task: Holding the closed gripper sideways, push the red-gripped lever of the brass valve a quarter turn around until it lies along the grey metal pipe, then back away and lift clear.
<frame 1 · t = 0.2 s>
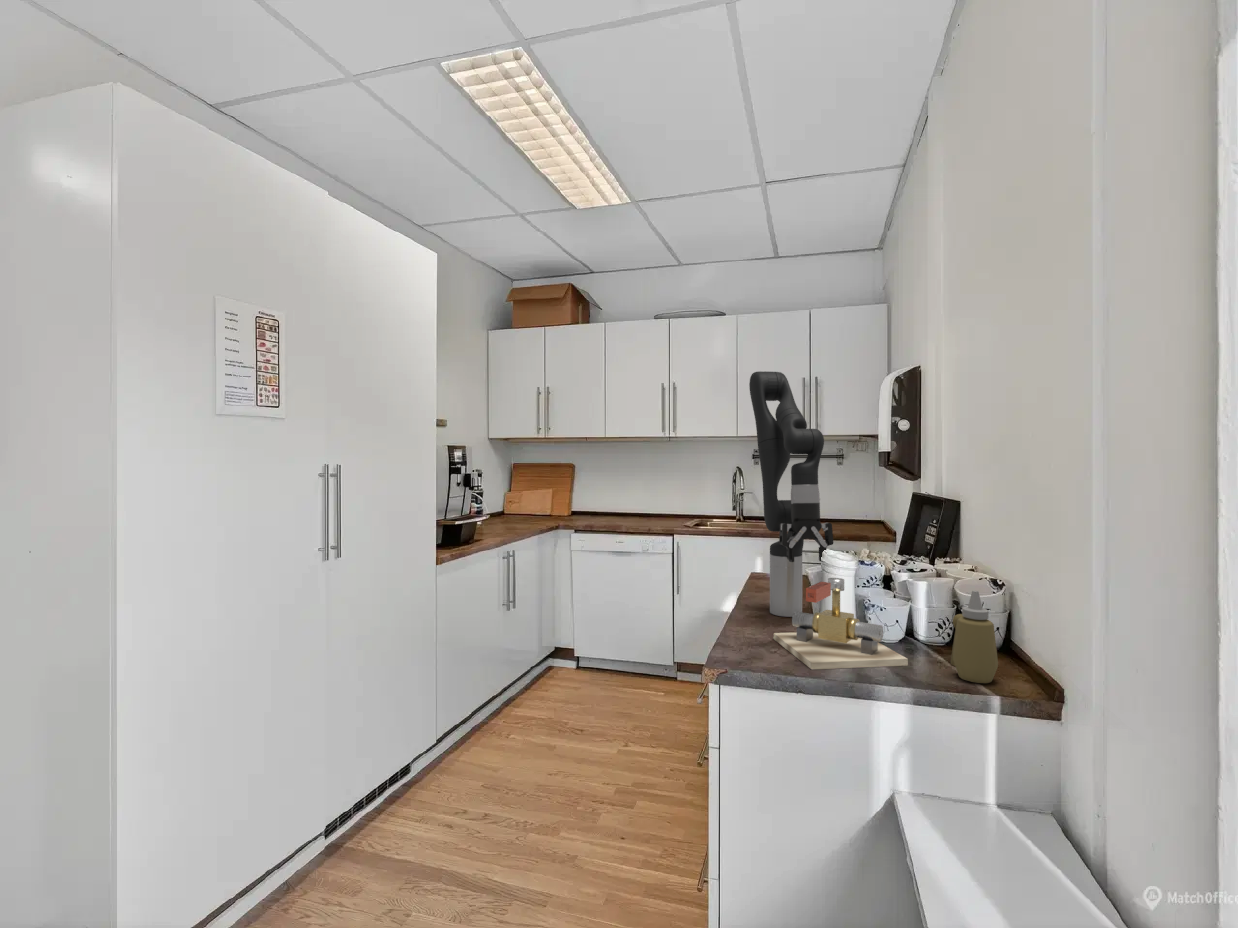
hand: (806, 561, 161), 18 cm above the counter, tool pointing down, fingers open, 8 cm apart
squeeze bottle: (974, 679, 122), on the counter
lever: (825, 588, 134), point 16 cm above the counter, hinge at 0.0°
base board: (836, 651, 140), on the counter
valve and pipe: (836, 617, 140), on the base board, point 8 cm above the counter
cork: (966, 665, 131), on the counter
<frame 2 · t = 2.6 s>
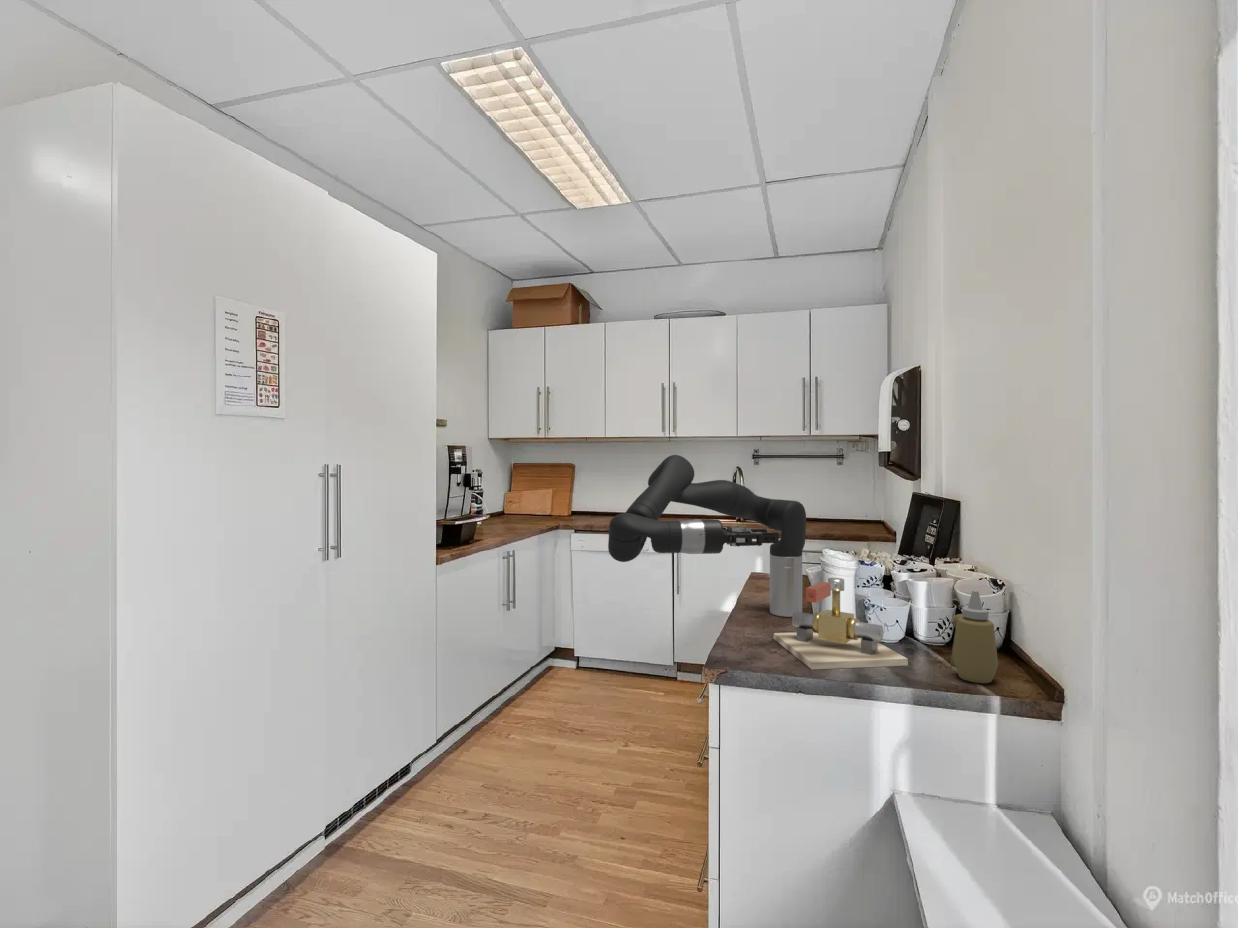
hand: (771, 535, 133), 28 cm above the counter, tool horizontal, fingers open, 6 cm apart
nothing on the counter moved.
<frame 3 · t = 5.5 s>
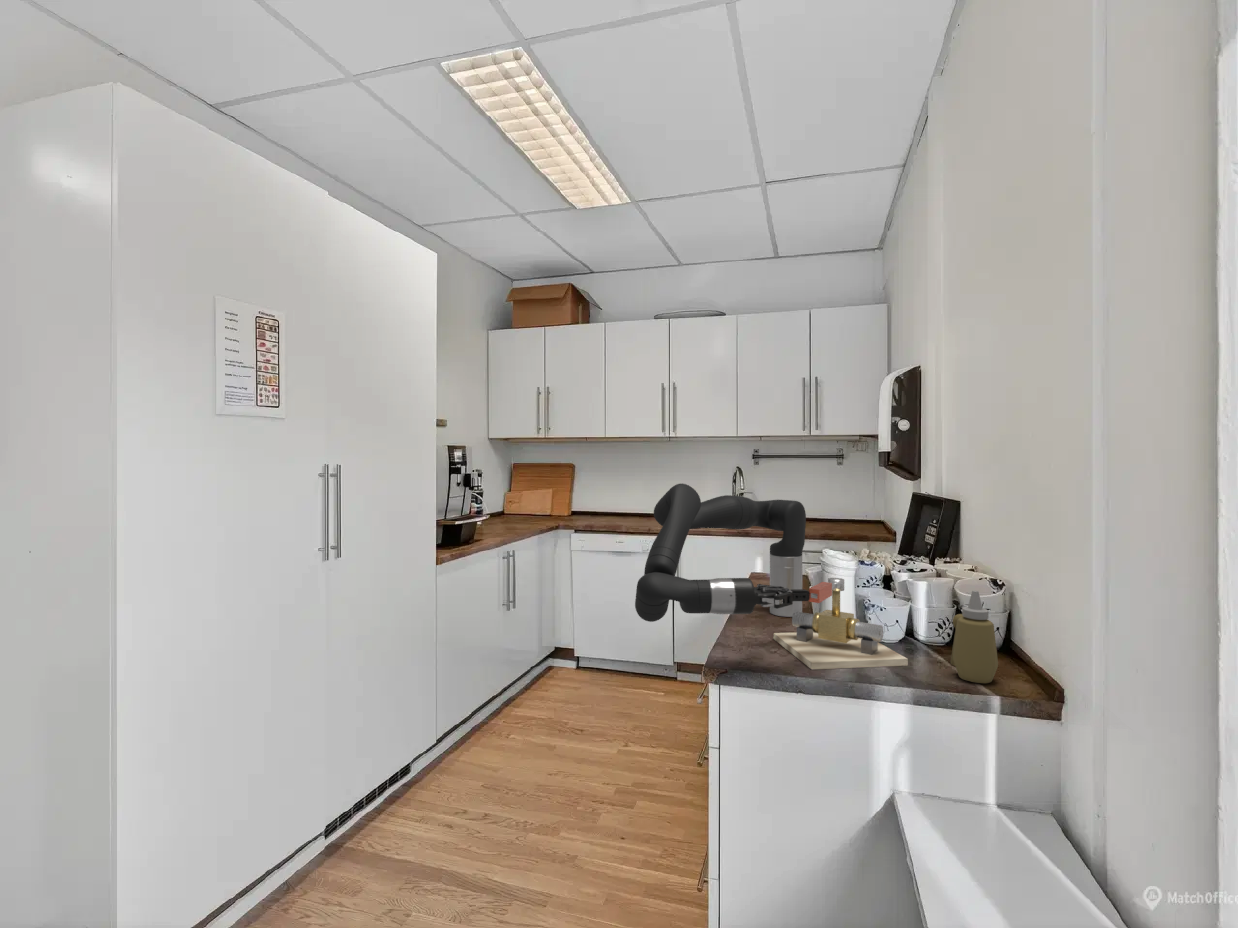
hand: (807, 595, 128), 16 cm above the counter, tool horizontal, fingers closed
lever: (826, 588, 134), point 16 cm above the counter, hinge at 2.3°, touching gripper
everything else where it was.
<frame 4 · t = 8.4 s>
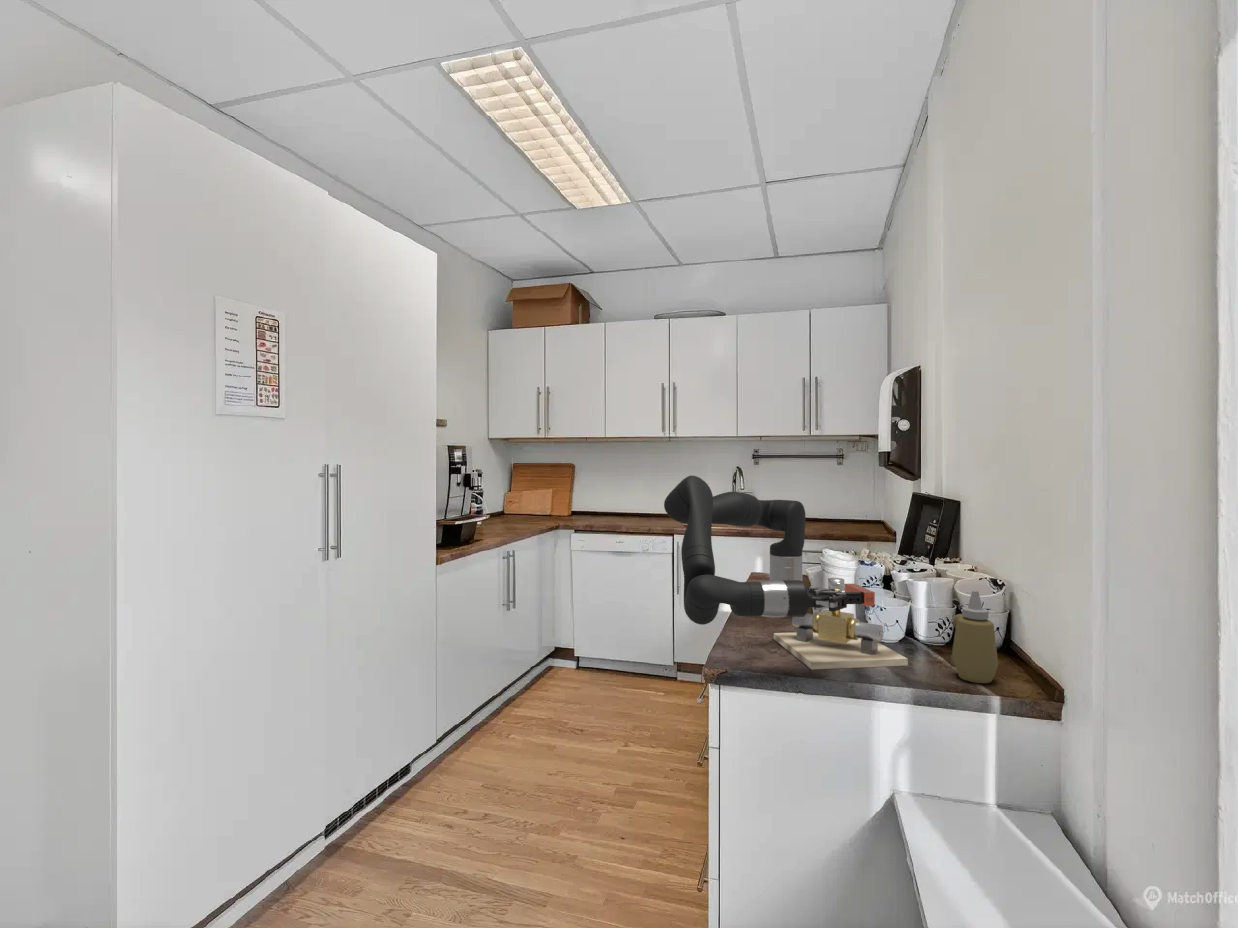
hand: (861, 597, 125), 16 cm above the counter, tool horizontal, fingers closed
lever: (850, 589, 133), point 16 cm above the counter, hinge at 42.5°, touching gripper
everything else where it was.
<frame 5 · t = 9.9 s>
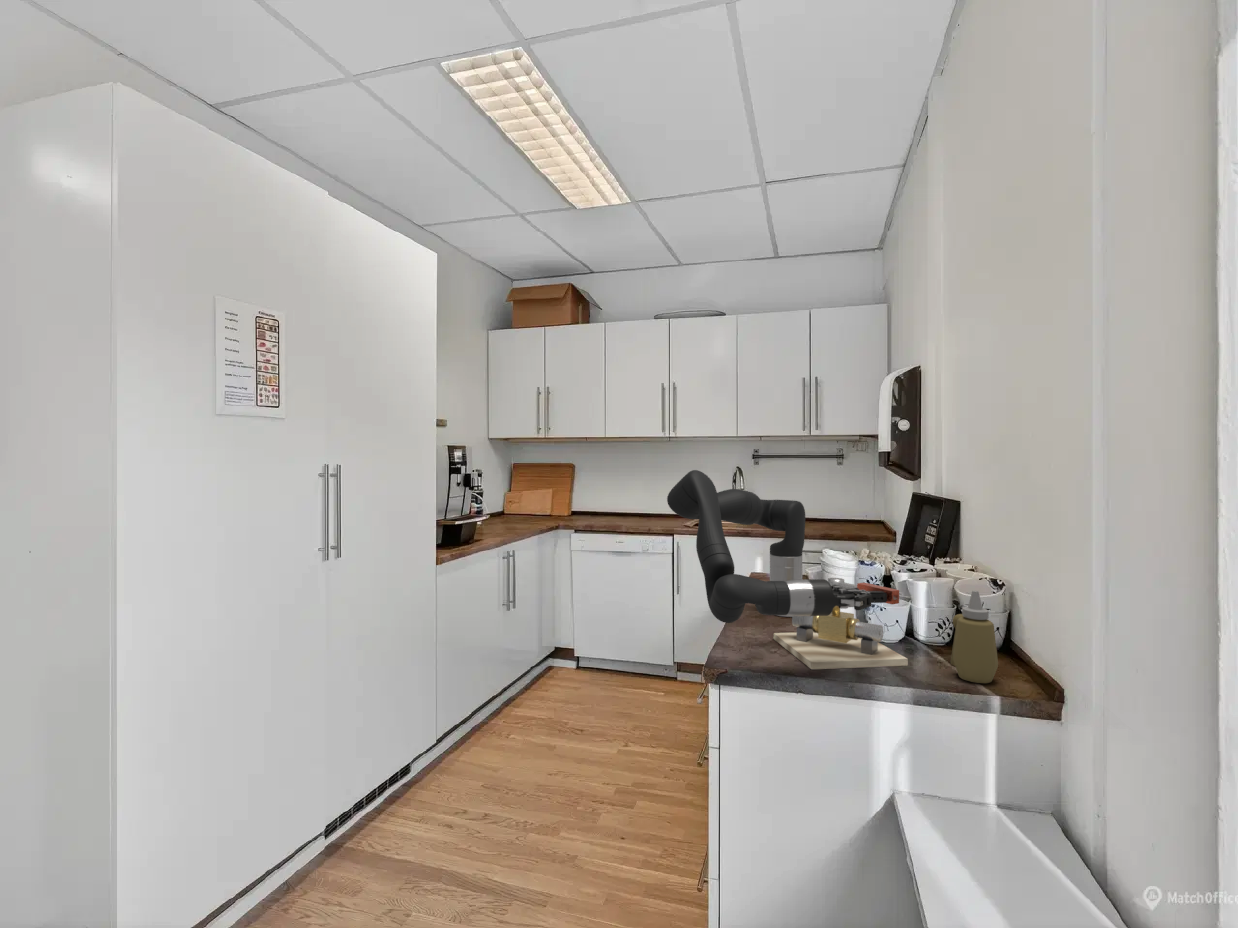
hand: (884, 596, 126), 16 cm above the counter, tool horizontal, fingers closed
lever: (861, 589, 134), point 16 cm above the counter, hinge at 65.9°, touching gripper
everything else where it was.
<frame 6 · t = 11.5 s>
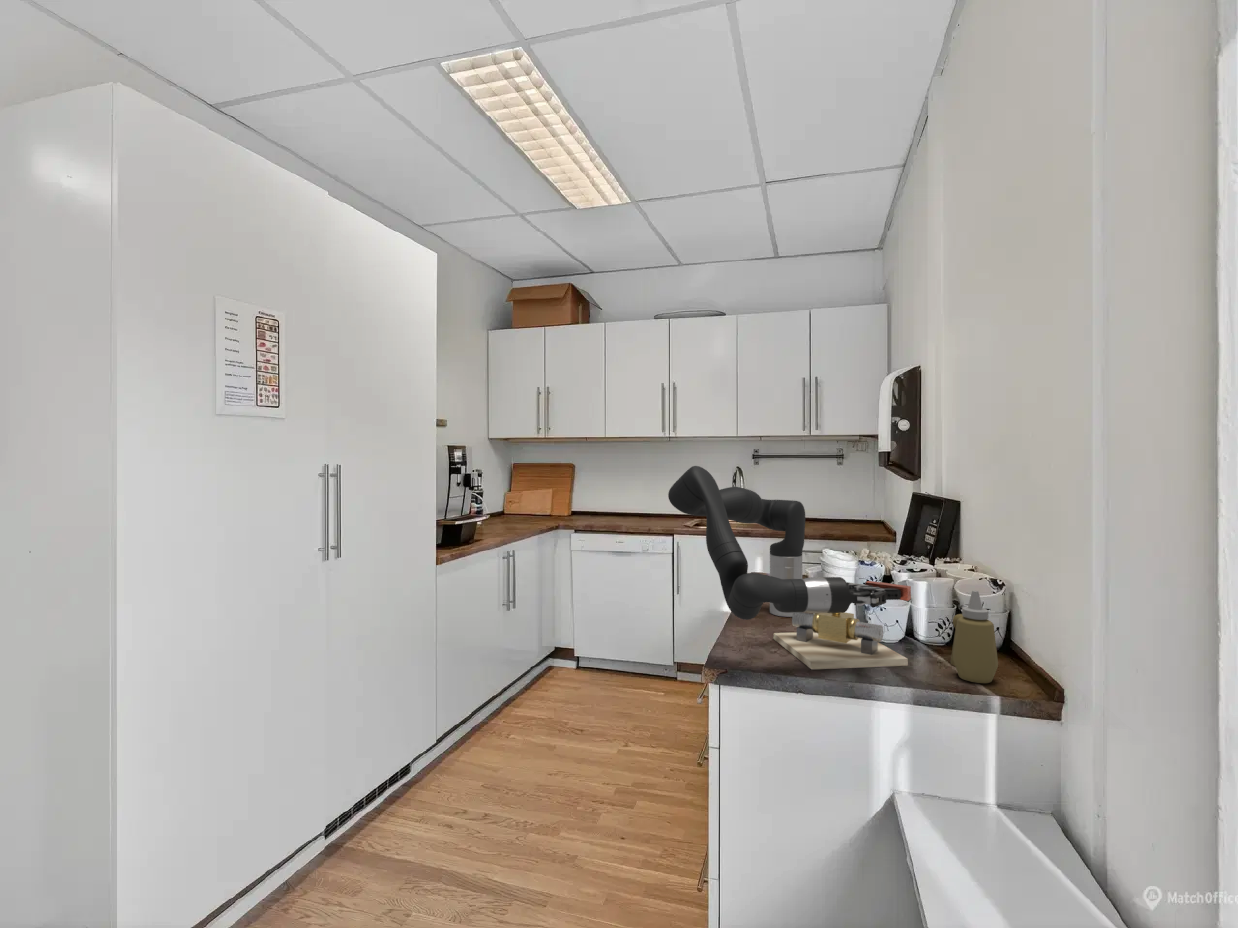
hand: (898, 593, 129), 16 cm above the counter, tool horizontal, fingers closed
lever: (867, 587, 135), point 16 cm above the counter, hinge at 87.1°, touching gripper
everything else where it was.
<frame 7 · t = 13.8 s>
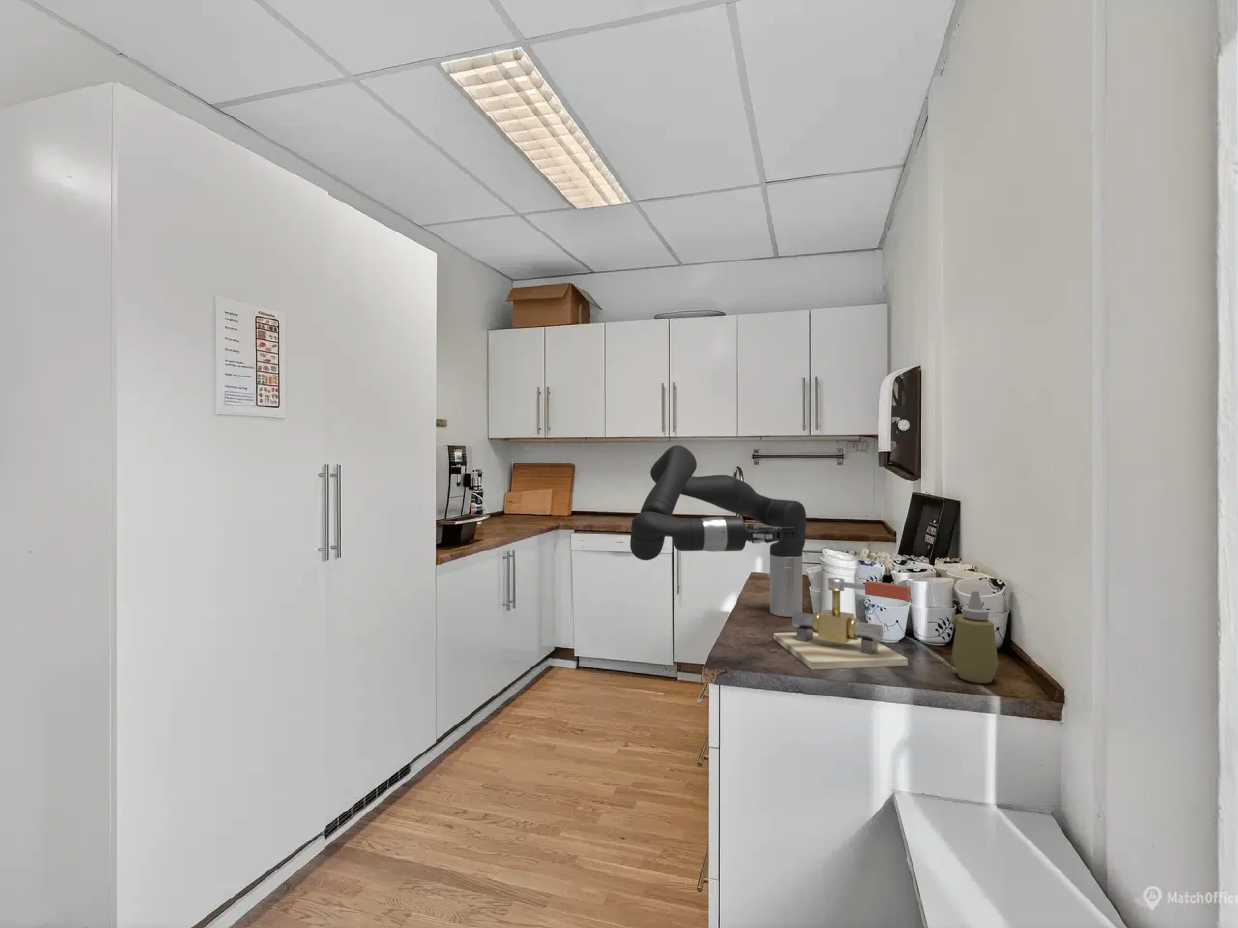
hand: (796, 532, 133), 29 cm above the counter, tool horizontal, fingers closed
lever: (867, 587, 135), point 16 cm above the counter, hinge at 87.1°
everything else where it was.
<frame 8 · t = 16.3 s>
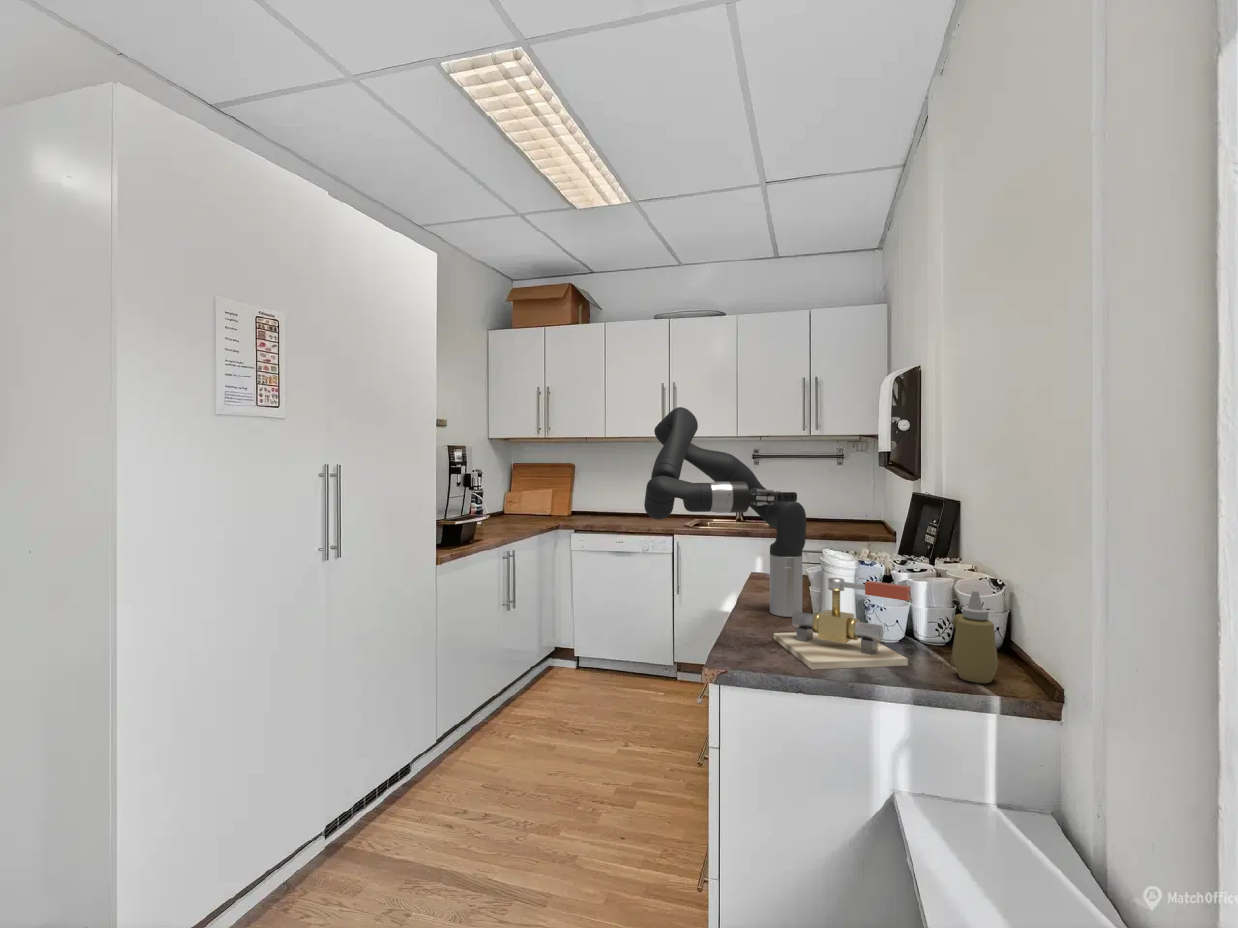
hand: (795, 496, 146), 36 cm above the counter, tool horizontal, fingers closed
nothing on the counter moved.
at the end: lever at +87° (first picture: +0°) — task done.
